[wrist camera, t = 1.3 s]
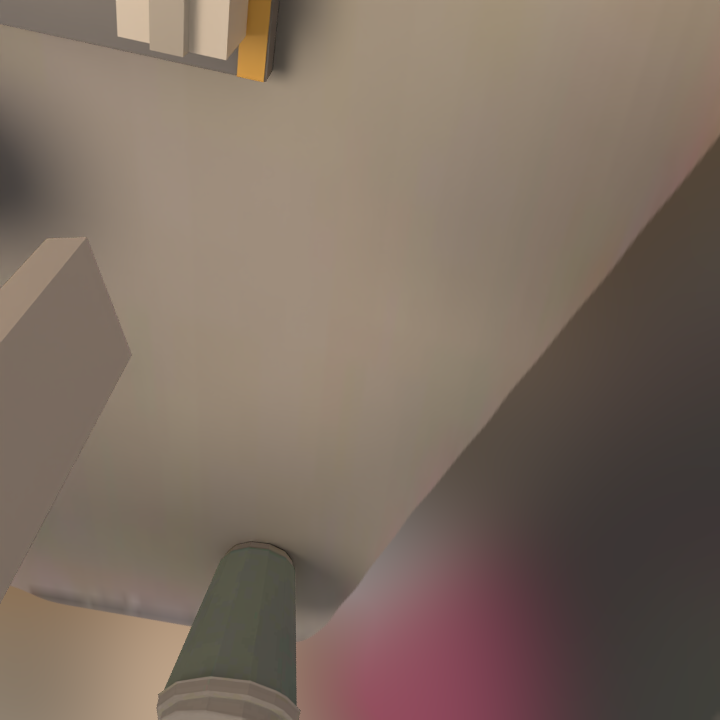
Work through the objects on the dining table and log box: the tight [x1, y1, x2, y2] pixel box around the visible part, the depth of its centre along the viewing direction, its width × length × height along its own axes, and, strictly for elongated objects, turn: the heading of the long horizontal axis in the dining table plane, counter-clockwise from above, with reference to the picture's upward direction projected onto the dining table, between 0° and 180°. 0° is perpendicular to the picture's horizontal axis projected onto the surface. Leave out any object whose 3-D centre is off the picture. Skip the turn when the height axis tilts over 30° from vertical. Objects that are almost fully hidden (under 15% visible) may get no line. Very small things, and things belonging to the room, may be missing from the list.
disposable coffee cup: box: [157, 542, 300, 720], centre depth 49 cm, size 11×11×15 cm
